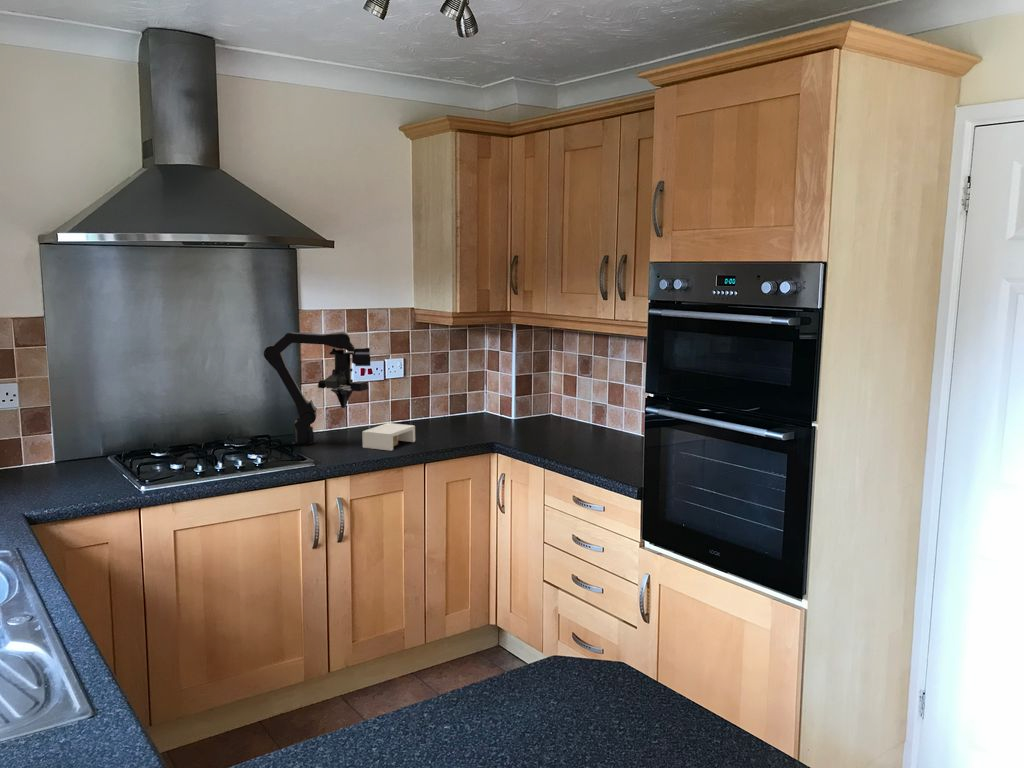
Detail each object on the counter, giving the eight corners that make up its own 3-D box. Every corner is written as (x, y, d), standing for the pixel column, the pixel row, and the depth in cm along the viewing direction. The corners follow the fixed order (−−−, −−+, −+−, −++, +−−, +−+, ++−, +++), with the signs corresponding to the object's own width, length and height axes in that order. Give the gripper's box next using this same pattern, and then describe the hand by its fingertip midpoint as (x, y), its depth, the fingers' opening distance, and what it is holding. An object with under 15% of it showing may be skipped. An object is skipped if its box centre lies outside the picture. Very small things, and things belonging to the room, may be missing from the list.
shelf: (362, 447, 302) (362, 431, 302) (388, 438, 318) (387, 423, 317) (390, 450, 298) (390, 434, 297) (415, 441, 313) (415, 425, 312)
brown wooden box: (367, 445, 307) (366, 434, 306) (375, 442, 312) (375, 432, 311) (390, 448, 303) (390, 437, 302) (398, 445, 308) (398, 434, 307)
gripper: (308, 367, 304) (309, 409, 307) (351, 370, 297) (351, 413, 299) (326, 363, 314) (327, 404, 317) (368, 367, 307) (369, 408, 309)
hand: (343, 407), depth 310 cm, fingers closed
